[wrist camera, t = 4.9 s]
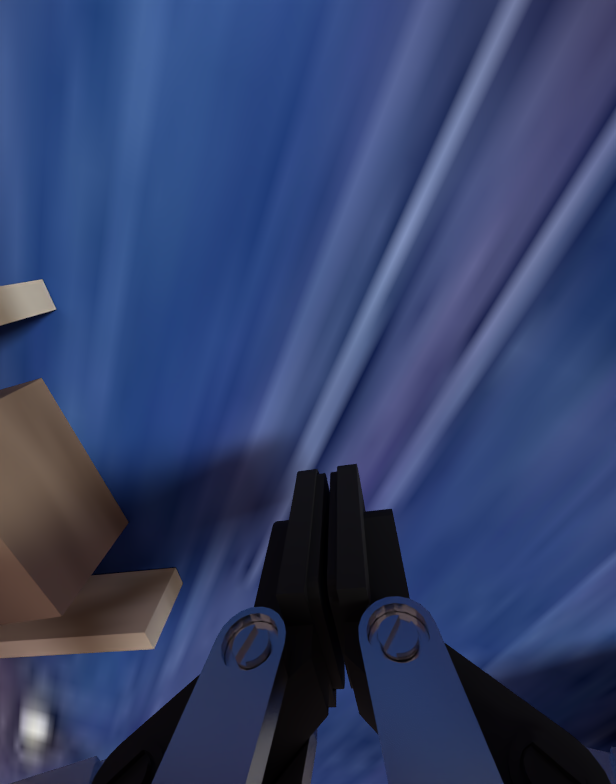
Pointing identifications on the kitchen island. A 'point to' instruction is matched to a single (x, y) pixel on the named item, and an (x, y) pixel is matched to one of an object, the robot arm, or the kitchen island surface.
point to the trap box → (101, 592)
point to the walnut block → (47, 508)
